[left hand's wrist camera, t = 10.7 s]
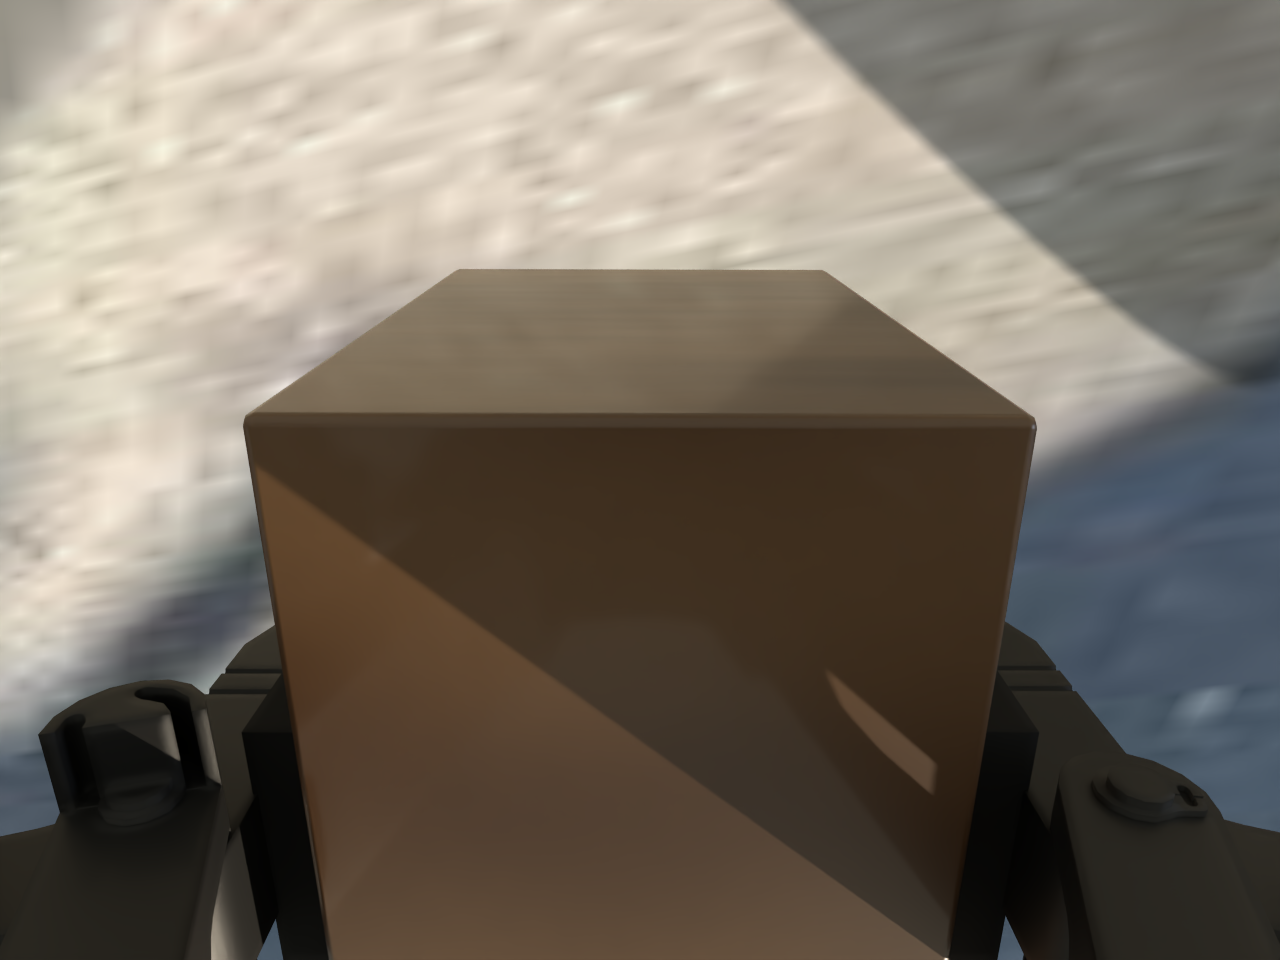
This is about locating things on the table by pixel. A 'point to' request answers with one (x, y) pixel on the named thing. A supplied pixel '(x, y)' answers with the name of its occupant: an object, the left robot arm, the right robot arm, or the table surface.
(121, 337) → the table surface
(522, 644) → the bar
